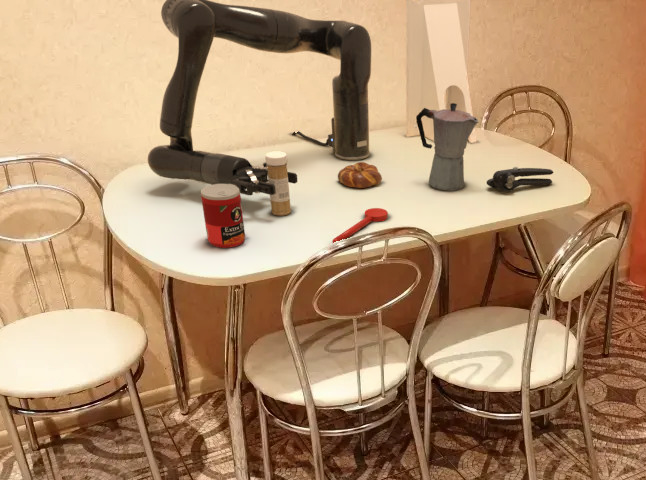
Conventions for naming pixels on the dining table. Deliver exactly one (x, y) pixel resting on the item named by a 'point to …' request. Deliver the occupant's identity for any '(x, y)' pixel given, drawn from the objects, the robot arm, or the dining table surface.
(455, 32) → the cream upright block
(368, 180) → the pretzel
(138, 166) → the dining table surface
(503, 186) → the can opener
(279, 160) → the sprinkles bottle
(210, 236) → the canned food
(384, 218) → the red spoon
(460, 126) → the moka pot
